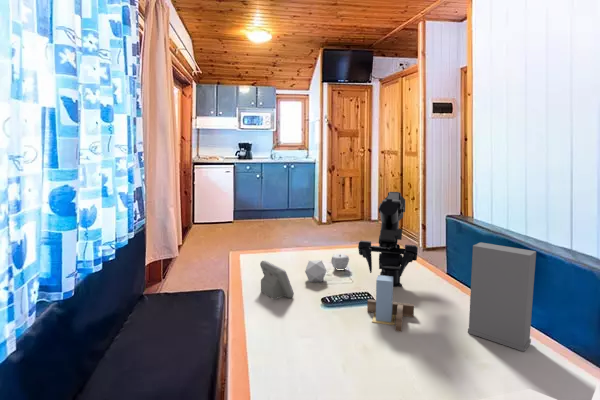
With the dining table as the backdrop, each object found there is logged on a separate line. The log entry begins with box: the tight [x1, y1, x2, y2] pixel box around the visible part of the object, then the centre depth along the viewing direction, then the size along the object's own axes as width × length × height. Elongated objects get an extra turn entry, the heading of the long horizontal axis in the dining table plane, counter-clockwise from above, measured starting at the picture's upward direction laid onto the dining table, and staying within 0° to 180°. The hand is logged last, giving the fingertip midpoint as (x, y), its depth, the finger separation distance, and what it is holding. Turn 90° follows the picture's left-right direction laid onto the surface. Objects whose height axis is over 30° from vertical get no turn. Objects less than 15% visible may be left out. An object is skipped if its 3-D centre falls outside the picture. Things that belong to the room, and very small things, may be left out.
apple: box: [330, 253, 350, 270], centre depth 160 cm, size 8×8×7 cm
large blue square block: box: [375, 274, 394, 322], centre depth 112 cm, size 4×4×12 cm
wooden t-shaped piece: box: [366, 298, 415, 333], centre depth 112 cm, size 12×14×4 cm
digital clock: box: [260, 260, 295, 300], centre depth 134 cm, size 16×9×11 cm, turn 22°
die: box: [304, 260, 327, 283], centre depth 146 cm, size 8×9×10 cm
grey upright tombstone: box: [467, 241, 537, 352], centre depth 99 cm, size 14×6×25 cm, turn 44°
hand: (385, 274), depth 118 cm, fingers open, 9 cm apart
